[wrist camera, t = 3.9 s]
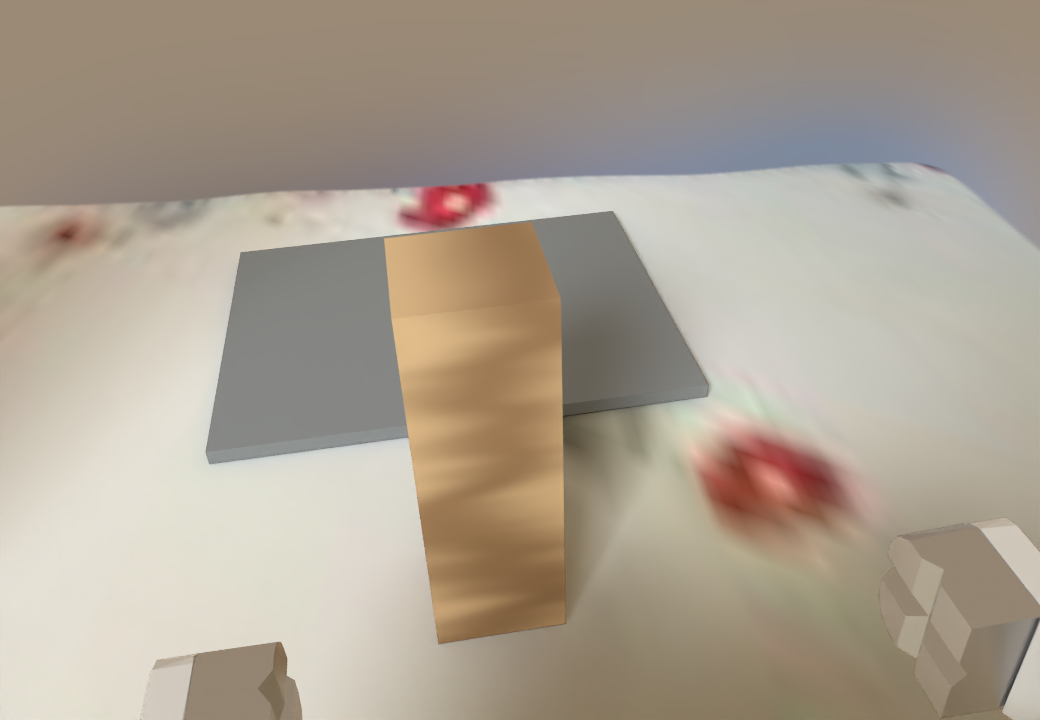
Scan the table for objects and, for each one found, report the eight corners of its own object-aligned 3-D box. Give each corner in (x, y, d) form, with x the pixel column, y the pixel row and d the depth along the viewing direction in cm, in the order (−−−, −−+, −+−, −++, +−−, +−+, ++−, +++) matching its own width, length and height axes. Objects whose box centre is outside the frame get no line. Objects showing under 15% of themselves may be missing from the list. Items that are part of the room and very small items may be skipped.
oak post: (438, 644, 28) (391, 318, 21) (427, 548, 31) (383, 238, 24) (565, 623, 29) (561, 298, 22) (542, 531, 32) (531, 221, 25)
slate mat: (209, 463, 35) (205, 452, 35) (243, 262, 48) (240, 252, 48) (707, 396, 37) (708, 384, 37) (612, 220, 50) (612, 211, 50)
